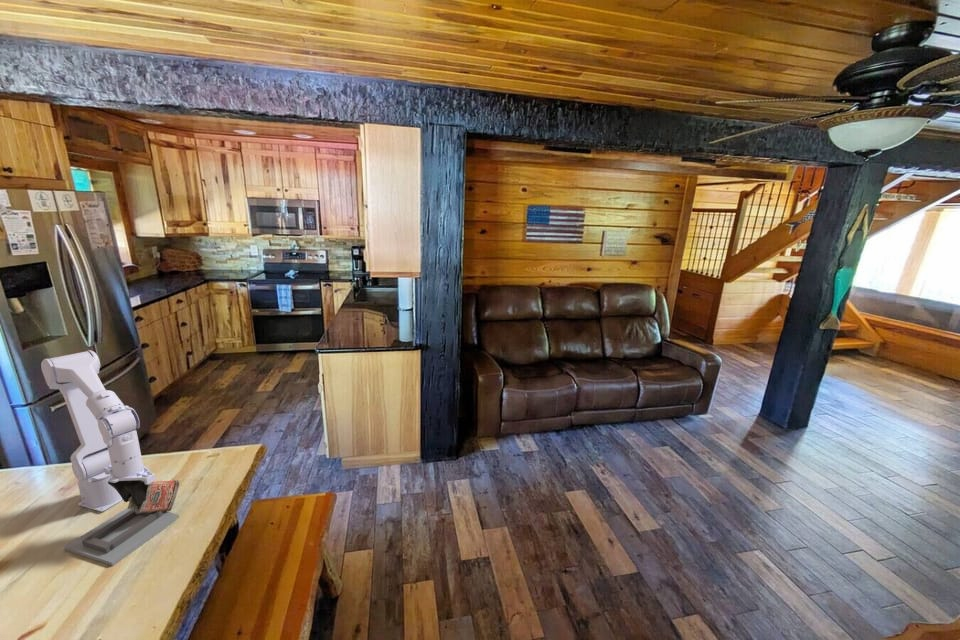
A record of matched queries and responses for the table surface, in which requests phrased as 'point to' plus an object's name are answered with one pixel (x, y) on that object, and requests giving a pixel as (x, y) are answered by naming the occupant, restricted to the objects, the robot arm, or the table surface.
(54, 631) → the table surface
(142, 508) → the lighter
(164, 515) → the socket dock
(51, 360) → the robot arm
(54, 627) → the table surface
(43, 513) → the table surface
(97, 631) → the table surface
